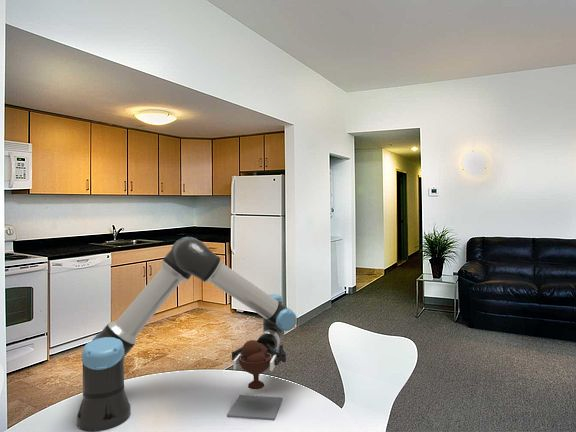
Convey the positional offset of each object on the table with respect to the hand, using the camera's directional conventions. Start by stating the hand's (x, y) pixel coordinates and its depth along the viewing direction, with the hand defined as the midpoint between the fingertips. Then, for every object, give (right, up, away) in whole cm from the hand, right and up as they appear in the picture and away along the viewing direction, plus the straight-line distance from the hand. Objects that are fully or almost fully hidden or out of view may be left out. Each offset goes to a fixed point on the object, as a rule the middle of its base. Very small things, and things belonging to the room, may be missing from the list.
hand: (252, 366), depth 126 cm
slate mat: (+1, -15, +4) cm, 15 cm away
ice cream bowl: (+1, -8, +4) cm, 9 cm away
